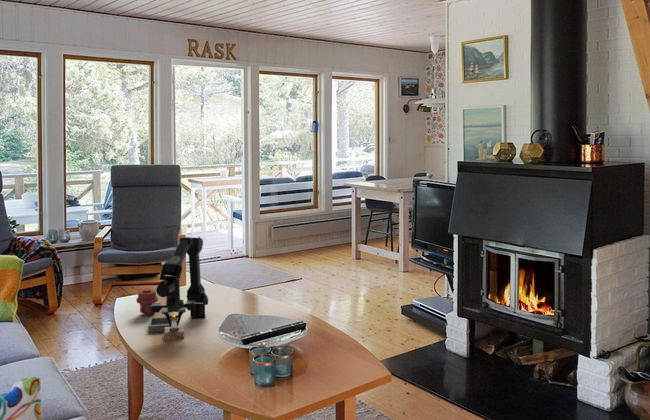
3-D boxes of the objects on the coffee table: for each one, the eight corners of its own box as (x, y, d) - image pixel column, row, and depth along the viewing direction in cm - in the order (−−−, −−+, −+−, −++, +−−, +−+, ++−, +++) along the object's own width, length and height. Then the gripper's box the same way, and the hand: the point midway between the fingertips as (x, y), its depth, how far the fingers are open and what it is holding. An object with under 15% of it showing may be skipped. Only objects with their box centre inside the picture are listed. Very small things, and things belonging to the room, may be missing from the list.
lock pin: (178, 334, 261) (177, 314, 260) (178, 336, 258) (177, 316, 256) (170, 334, 260) (169, 314, 259) (170, 337, 257) (169, 317, 256)
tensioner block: (183, 332, 264) (183, 325, 263) (183, 338, 256) (183, 331, 256) (165, 333, 262) (165, 327, 261) (164, 339, 254) (164, 333, 254)
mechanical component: (162, 312, 294) (152, 318, 284) (143, 310, 295) (133, 316, 286) (161, 287, 292) (151, 293, 282) (142, 286, 294) (132, 291, 284)
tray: (177, 322, 277) (176, 316, 277) (176, 330, 266) (176, 324, 266) (150, 324, 275) (150, 318, 274) (149, 332, 263) (148, 326, 263)
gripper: (149, 297, 246) (150, 333, 248) (195, 294, 251) (196, 330, 253) (150, 290, 257) (152, 325, 259) (194, 287, 261) (195, 322, 263)
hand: (174, 325), depth 258 cm, fingers closed on lock pin, 3 cm apart
